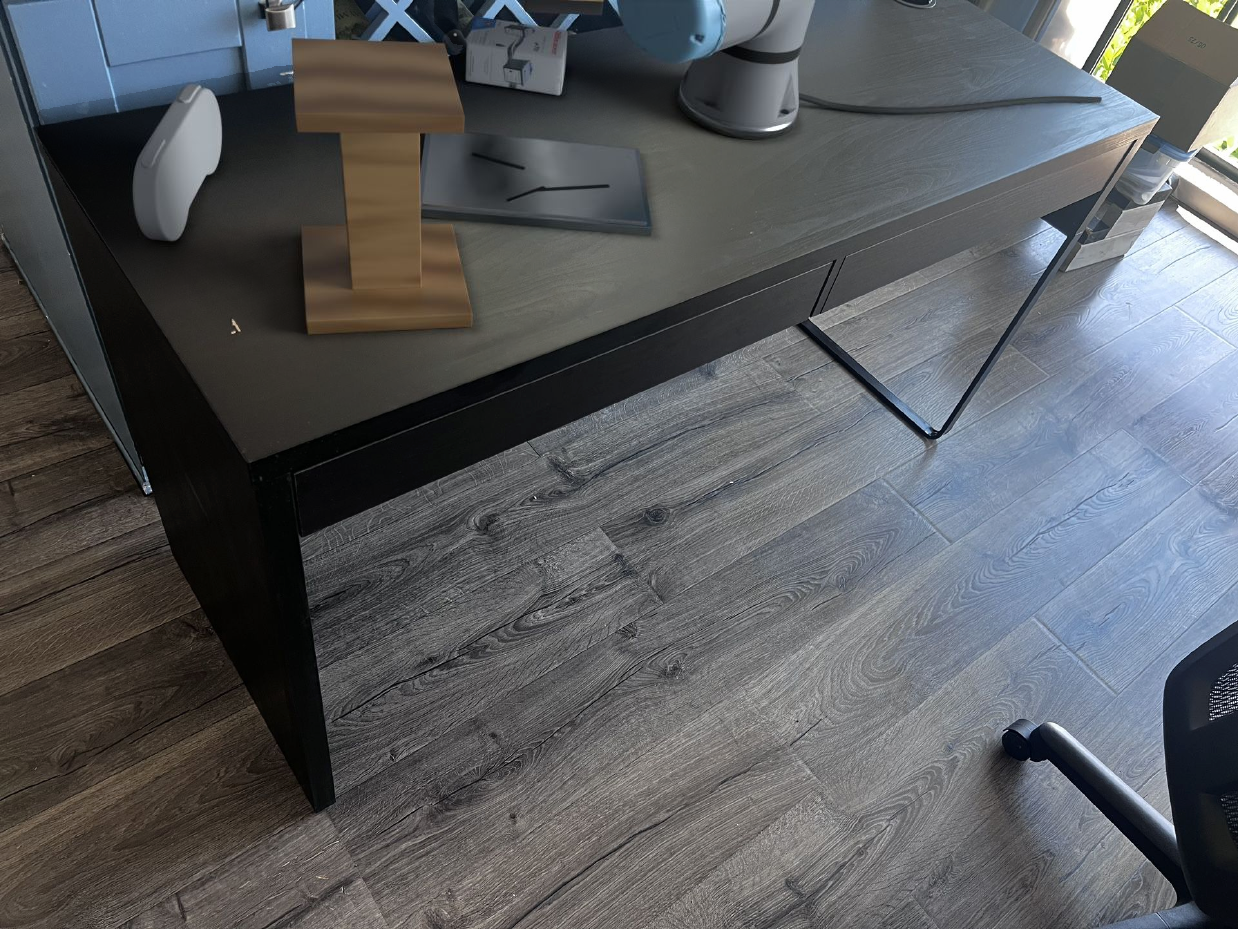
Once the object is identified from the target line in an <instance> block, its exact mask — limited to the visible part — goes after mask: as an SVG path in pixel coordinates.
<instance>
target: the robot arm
mask: <svg viewBox="0 0 1238 929" xmlns="http://www.w3.org/2000/svg"><path fill="white" fill-rule="evenodd" d="M815 2H816V0H616V5H617V9H618V13H619V17H620V19H621V23H622V25H623V27H624V28H625V31H626V32H627V34H628V35H629V37H630V38H631V40H632V42H634V43H635V45H636V46H637V47H638V48H639V49H640V50H642V51H644V52H646V53H647V54H648V55H649V57H650V58H652V59H654V60H656V61H659V62H663V63H666V64H681V63H684V64H683V66H685V63H686V62H689V61H691V63H690V65H689V66H688V67H687V70H686V72H685V74H684V70H685V67H683V68H682V69H683V70H682V71H681V72H682V73H681V75H683V74H684V75H683V76H681V77H680V79H681V82H680V86H679V90H678V95H677V102H678V105H679V107H680V110H682V112H683V113H684V114H685V115H686V116H687V117H688V118H690V120H692V121H694V122H695V123H697V124H698V125H700V126H701V127H704V128H706V129H708V130H709V131H713V132H716V133H718V134H722V135H726V136H728V137H732V138H738V139H745V140H746V139H747V140H768V139H773V138H778V137H781V136H784V135H785V134H788V133H789V132H790V131H792V129H793V128H794V126H795V123H796V121H797V117H798V113H799V106H800V101H803V102H806V103H810V104H813V105H816V106H819V107H822V108H826V109H831V110H838V111H843V112H844V111H845V112H852V113H853V112H854V113H855V112H856V113H869V114H894V115H895V114H896V115H901V114H902V115H914V114H934V113H935V114H936V113H937V114H938V113H951V112H962V111H972V110H981V109H982V110H983V109H991V108H998V107H1006V106H1007V107H1008V106H1016V105H1028V104H1038V103H1039V104H1040V103H1041V104H1042V103H1092V104H1093V103H1094V104H1095V103H1096V104H1097V103H1101V102H1103V99H1102V97H1101V96H1081V95H1079V96H1078V95H1077V96H1075V95H1074V96H1073V95H1067V96H1066V95H1055V96H1053V95H1052V96H1051V95H1050V96H1037V97H1035V96H1034V97H1021V98H1011V99H1002V100H1001V99H1000V100H993V101H985V102H976V103H975V102H974V103H966V104H955V105H944V106H942V105H941V106H922V107H920V106H919V107H895V106H894V107H892V106H891V107H890V106H869V105H857V104H846V103H839V102H832V101H829V100H824V99H822V98H818V97H815V96H812V95H808V94H805V93H801V92H799V64H798V62H799V57H800V53H801V49H802V46H803V43H804V40H805V36H806V33H807V29H808V26H809V23H810V19H811V16H812V13H813V9H814V6H815Z"/></svg>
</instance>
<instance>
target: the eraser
mask: <svg viewBox="0 0 1238 929" xmlns="http://www.w3.org/2000/svg"><path fill="white" fill-rule="evenodd" d="M520 3H521V5H522V8H523V11H524V13H535V14H556V15H557V14H558V15H559V14H560V15H564V14H565V15H583V16H602V15H603V8H604V0H520Z"/></svg>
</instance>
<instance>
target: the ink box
mask: <svg viewBox="0 0 1238 929" xmlns="http://www.w3.org/2000/svg"><path fill="white" fill-rule="evenodd" d="M568 34H569V32H568V30H565V29H559V28H553V27H547V26H542V25H541V26H540V25H533V24H528V23H521V22H514V21H508V20H502V19H496V18H489V17H484V16H478V15H477V16H475V18H474V21H473V24H472V27H471V29H470V31H469V35H468V38H467V42H466V48H465V50H466V51H465V81H466V82H469V83H470V82H471V83H477V84H482V85H483V84H484V85H489V86H496V87H502V88H508V89H516V90H521V91H529V92H535V93H540V94H548V95H554V96H560V95H562V92H563V86H564V79H565V73H566V64H567V52H568V50H567V48H568Z"/></svg>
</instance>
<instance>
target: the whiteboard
mask: <svg viewBox="0 0 1238 929" xmlns="http://www.w3.org/2000/svg"><path fill="white" fill-rule="evenodd" d="M642 163H643V162H642V157H641V151H640V148H634V147H626V146H625V147H623V146H613V145H603V144H595V143H594V144H593V143H583V142H574V141H573V142H571V141H563V140H562V141H561V140H551V139H542V138H531V137H521V136H511V135H501V134H491V133H481V132H479V133H478V132H471V131H470V132H469V131H464V134H444V133H424V141H423V150H422V158H421V163H420V209H421V218H429V219H430V218H431V219H441V220H454V221H465V222H466V221H467V222H475V223H476V222H478V223H488V224H489V223H490V224H491V223H492V224H502V225H512V226H513V225H514V226H527V227H537V228H538V227H539V228H551V229H562V230H563V229H564V230H572V231H573V230H575V231H586V232H587V231H588V232H600V233H609V234H610V233H611V234H623V235H636V236H649V237H652V234H653V228H654V226H653V222H652V216H651V215H652V214H651V211H650V204H649V198H648V192H647V187H646V181H645V174H644V169H643V164H642Z"/></svg>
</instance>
